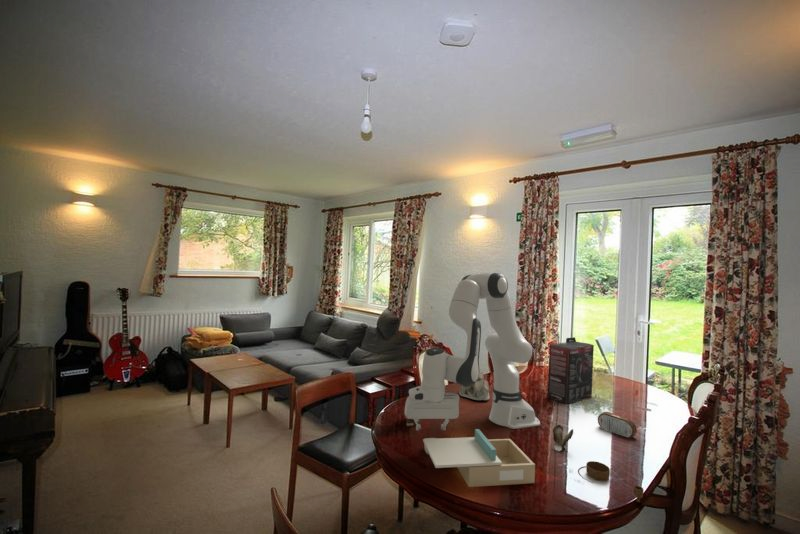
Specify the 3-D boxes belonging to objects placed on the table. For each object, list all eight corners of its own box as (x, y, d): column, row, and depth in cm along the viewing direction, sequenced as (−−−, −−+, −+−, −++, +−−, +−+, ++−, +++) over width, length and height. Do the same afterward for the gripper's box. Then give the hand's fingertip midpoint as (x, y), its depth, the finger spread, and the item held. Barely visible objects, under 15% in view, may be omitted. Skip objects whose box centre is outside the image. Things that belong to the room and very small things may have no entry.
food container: (419, 430, 158) (420, 406, 158) (405, 428, 159) (406, 404, 159) (423, 418, 170) (424, 396, 170) (410, 417, 171) (411, 395, 171)
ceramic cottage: (458, 391, 211) (459, 364, 211) (488, 393, 208) (489, 366, 208) (458, 400, 195) (459, 372, 195) (490, 403, 193) (492, 374, 193)
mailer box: (509, 457, 137) (510, 438, 137) (534, 486, 119) (535, 464, 119) (451, 460, 134) (452, 440, 134) (468, 490, 116) (469, 467, 116)
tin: (636, 440, 156) (637, 420, 156) (633, 442, 154) (634, 422, 154) (599, 427, 168) (600, 408, 168) (596, 429, 166) (597, 410, 166)
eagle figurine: (574, 450, 145) (575, 427, 145) (571, 458, 139) (572, 434, 139) (553, 444, 149) (554, 422, 149) (550, 452, 143) (551, 428, 143)
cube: (435, 449, 141) (436, 437, 141) (438, 455, 137) (439, 443, 137) (424, 450, 141) (424, 438, 141) (426, 456, 136) (427, 443, 136)
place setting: (619, 474, 130) (619, 457, 130) (647, 511, 110) (648, 491, 110) (565, 468, 132) (566, 451, 132) (583, 503, 113) (584, 483, 113)
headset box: (572, 390, 219) (574, 334, 219) (593, 397, 208) (595, 338, 208) (546, 397, 205) (548, 337, 205) (567, 405, 195) (569, 341, 195)
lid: (481, 439, 135) (481, 427, 135) (501, 464, 118) (502, 451, 118) (423, 441, 132) (423, 429, 132) (435, 468, 115) (436, 454, 115)
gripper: (457, 390, 144) (455, 425, 144) (404, 389, 141) (402, 426, 140) (462, 395, 137) (460, 433, 137) (407, 395, 134) (405, 433, 134)
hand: (430, 429), depth 139 cm, fingers open, 8 cm apart
